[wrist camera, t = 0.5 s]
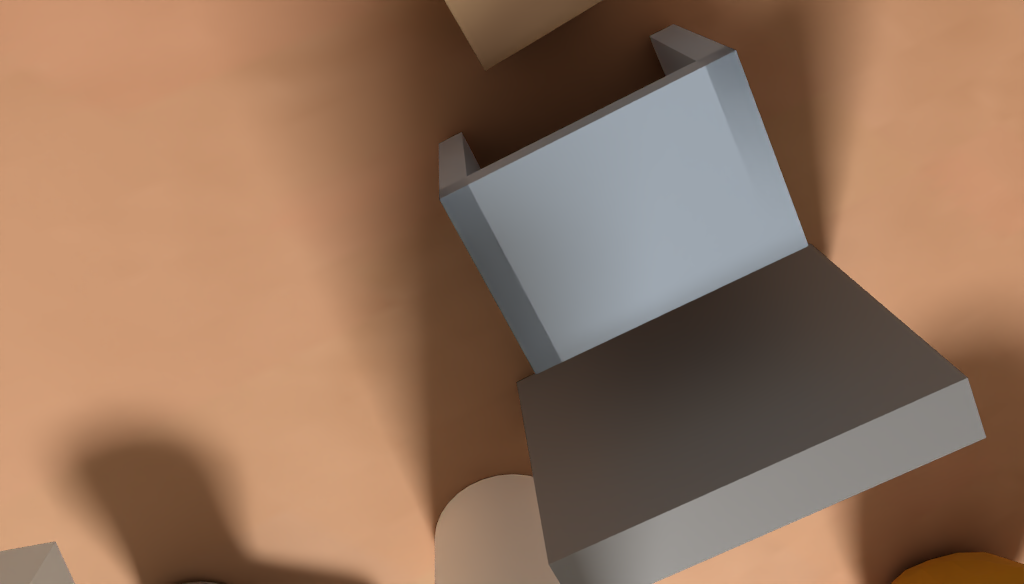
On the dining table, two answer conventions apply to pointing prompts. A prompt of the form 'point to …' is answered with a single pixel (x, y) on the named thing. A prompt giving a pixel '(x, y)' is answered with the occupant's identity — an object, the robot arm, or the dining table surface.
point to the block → (626, 205)
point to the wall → (732, 422)
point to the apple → (964, 570)
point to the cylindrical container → (492, 535)
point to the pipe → (201, 583)
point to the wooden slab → (511, 23)
